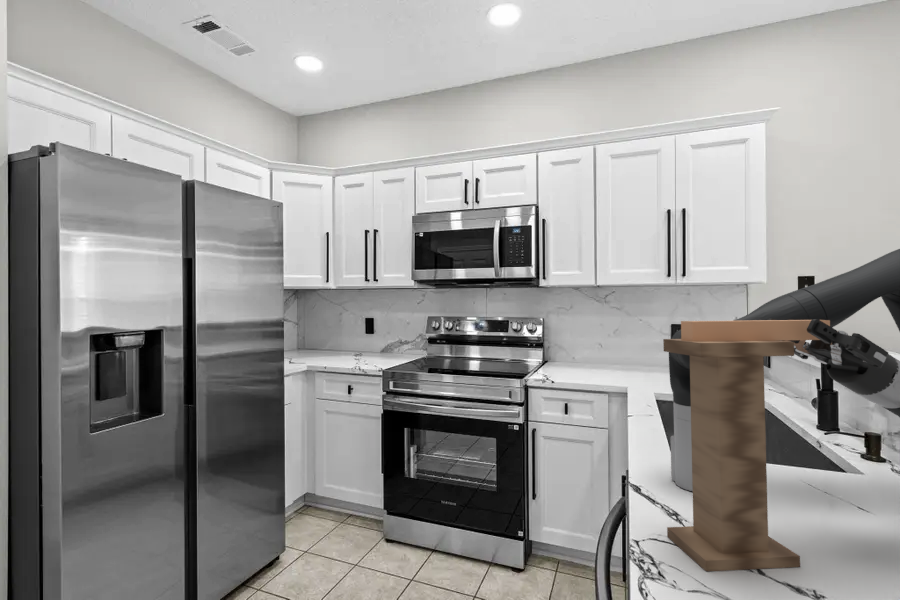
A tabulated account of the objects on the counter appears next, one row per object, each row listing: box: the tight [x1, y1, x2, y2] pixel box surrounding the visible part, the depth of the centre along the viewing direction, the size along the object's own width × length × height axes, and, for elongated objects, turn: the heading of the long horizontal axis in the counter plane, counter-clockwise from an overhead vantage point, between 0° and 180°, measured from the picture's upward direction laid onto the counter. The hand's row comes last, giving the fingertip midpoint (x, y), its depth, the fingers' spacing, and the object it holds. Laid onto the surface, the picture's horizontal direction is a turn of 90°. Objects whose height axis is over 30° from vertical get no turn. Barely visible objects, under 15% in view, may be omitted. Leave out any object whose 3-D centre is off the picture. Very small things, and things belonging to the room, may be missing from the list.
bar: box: [680, 320, 830, 342], centre depth 71 cm, size 22×3×3 cm, turn 94°
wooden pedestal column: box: [662, 338, 801, 572], centre depth 70 cm, size 14×10×32 cm
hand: (787, 324), depth 71 cm, fingers open, 8 cm apart
